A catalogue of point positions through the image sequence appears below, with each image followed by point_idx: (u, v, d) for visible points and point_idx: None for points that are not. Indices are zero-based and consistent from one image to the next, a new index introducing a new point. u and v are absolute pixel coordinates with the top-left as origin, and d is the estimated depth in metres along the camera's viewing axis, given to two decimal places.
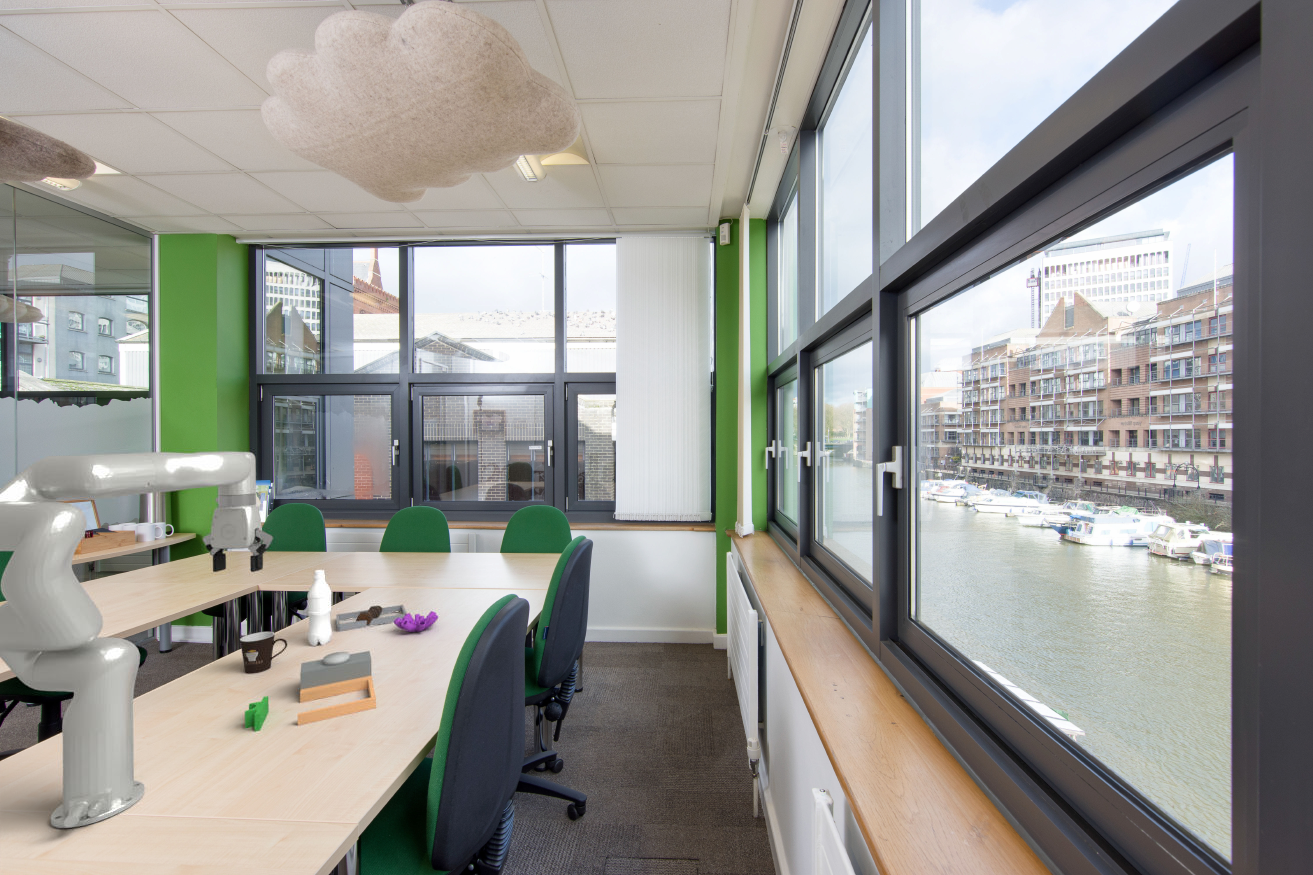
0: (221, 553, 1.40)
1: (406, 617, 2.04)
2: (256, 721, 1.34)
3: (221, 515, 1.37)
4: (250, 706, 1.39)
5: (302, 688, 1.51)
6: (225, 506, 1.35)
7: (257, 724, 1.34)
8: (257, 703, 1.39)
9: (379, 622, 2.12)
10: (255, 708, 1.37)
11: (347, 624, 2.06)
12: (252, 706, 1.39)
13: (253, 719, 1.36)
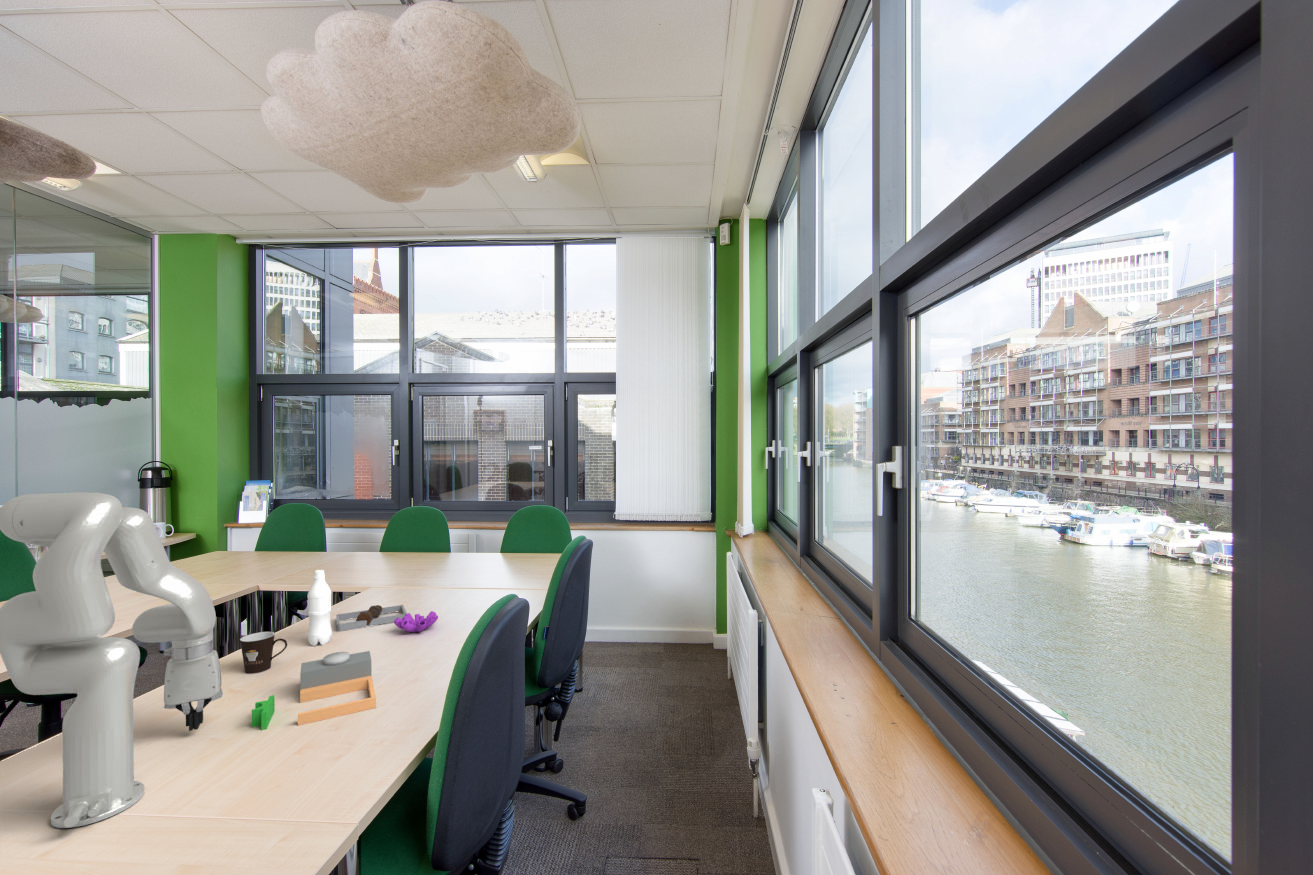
0: (193, 709, 1.33)
1: (406, 617, 2.04)
2: (263, 720, 1.34)
3: (181, 668, 1.29)
4: (256, 705, 1.39)
5: (302, 688, 1.51)
6: (190, 658, 1.29)
7: (263, 723, 1.34)
8: (263, 702, 1.40)
9: (379, 622, 2.12)
10: (262, 707, 1.37)
11: (347, 624, 2.06)
12: (258, 705, 1.40)
13: (260, 718, 1.36)
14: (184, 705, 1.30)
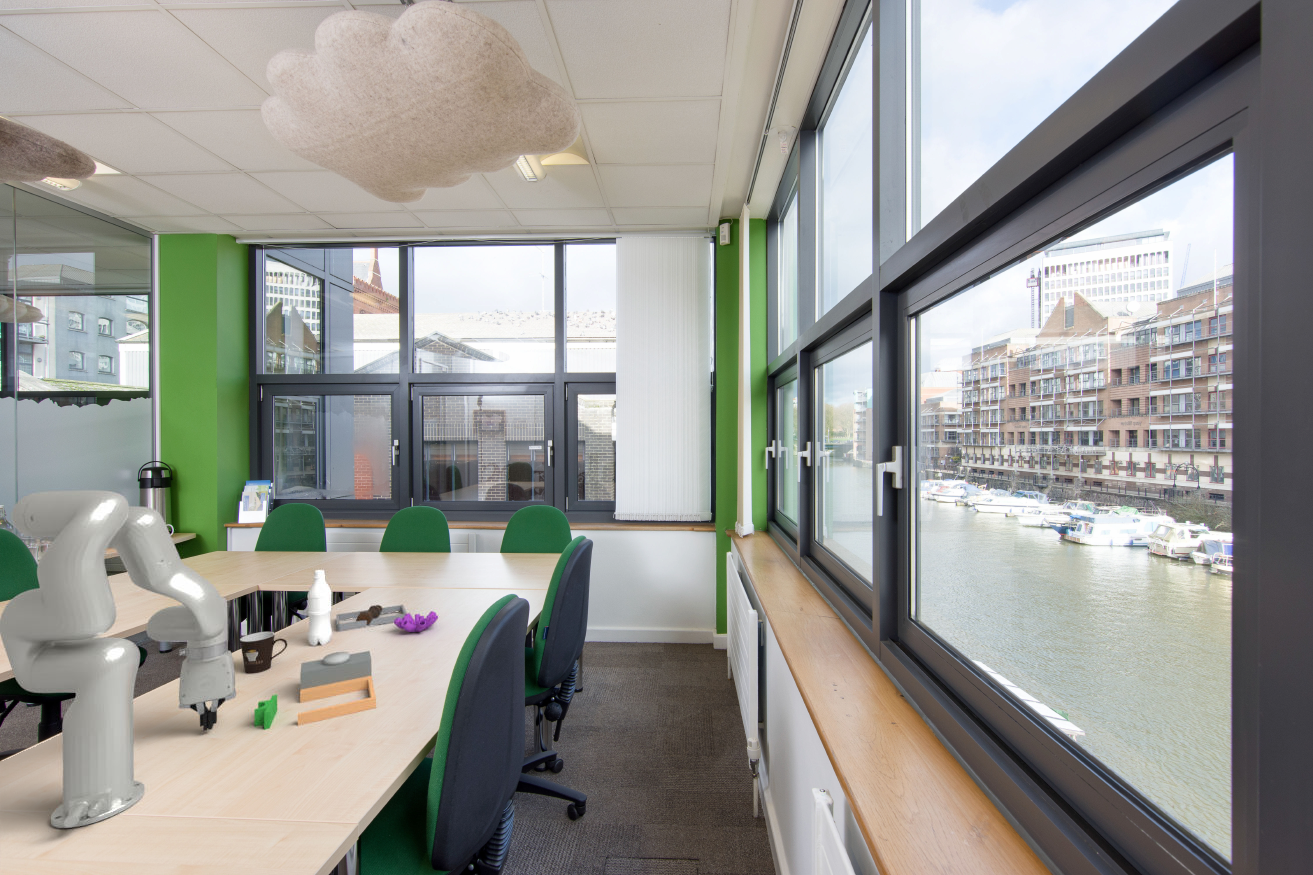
0: (207, 709, 1.34)
1: (406, 617, 2.04)
2: (266, 719, 1.35)
3: (196, 668, 1.30)
4: (259, 704, 1.40)
5: (302, 688, 1.51)
6: (205, 658, 1.30)
7: (266, 722, 1.35)
8: (266, 701, 1.40)
9: (379, 622, 2.12)
10: (264, 706, 1.38)
11: (347, 624, 2.06)
12: (261, 704, 1.40)
13: (262, 717, 1.37)
14: (199, 705, 1.32)
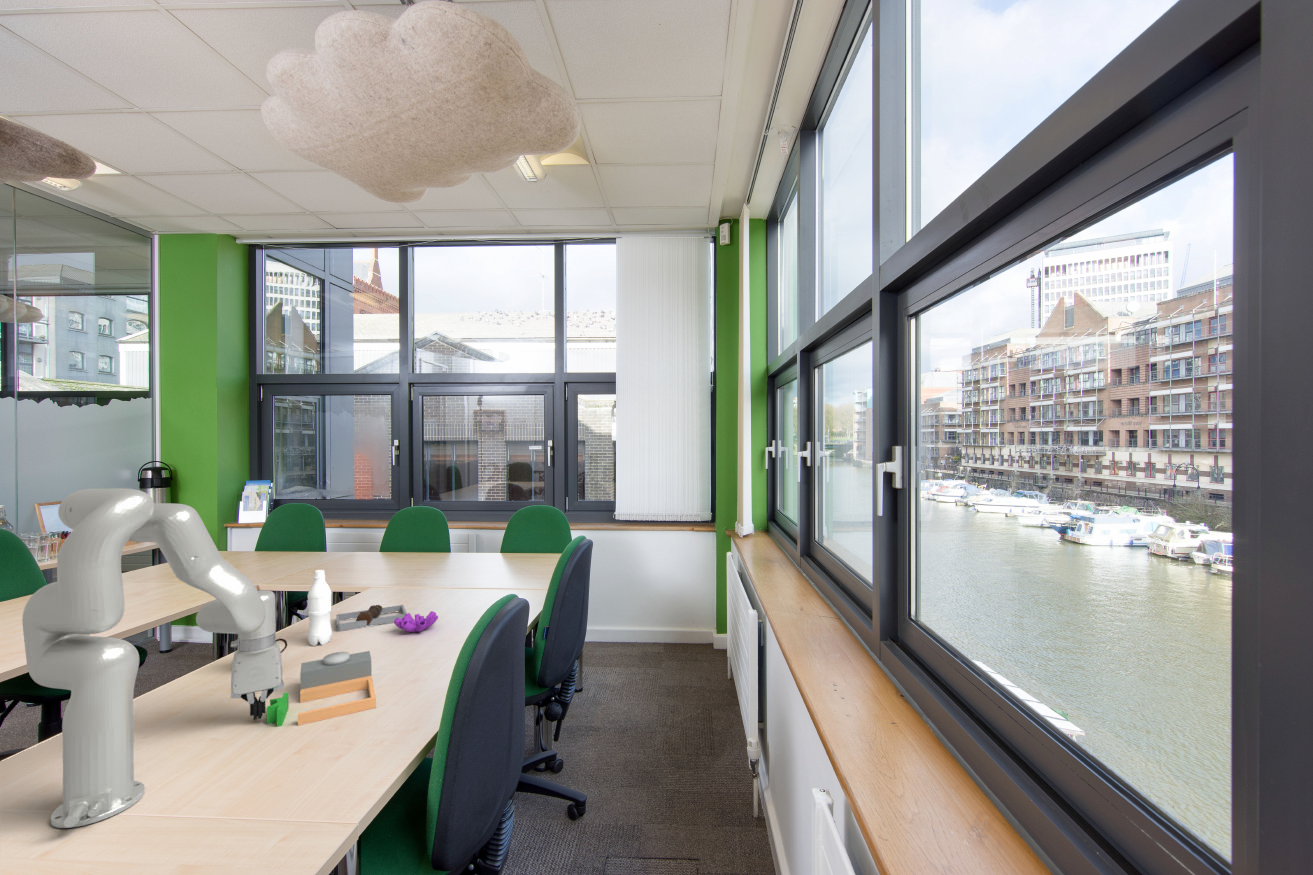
0: (256, 699, 1.39)
1: (406, 617, 2.04)
2: (278, 716, 1.36)
3: (247, 659, 1.35)
4: (271, 702, 1.41)
5: (302, 688, 1.51)
6: (256, 649, 1.35)
7: (279, 719, 1.36)
8: (278, 699, 1.41)
9: (379, 622, 2.12)
10: (277, 704, 1.39)
11: (347, 624, 2.06)
12: (273, 702, 1.41)
13: (275, 714, 1.38)
14: (249, 695, 1.36)
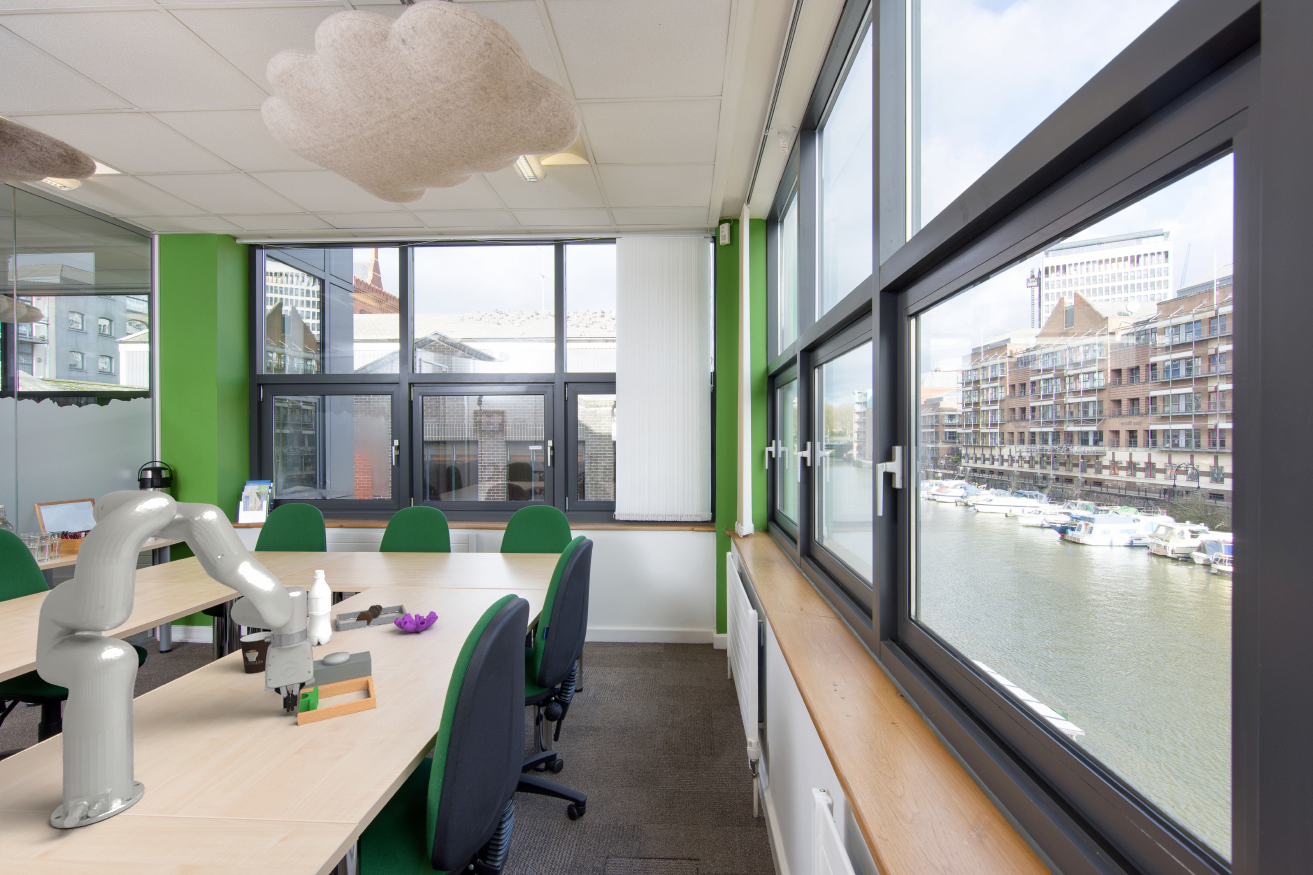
0: (289, 693, 1.42)
1: (406, 617, 2.04)
2: None
3: (280, 654, 1.39)
4: (302, 696, 1.44)
5: (302, 688, 1.51)
6: (289, 644, 1.39)
7: None
8: (309, 693, 1.45)
9: (379, 622, 2.12)
10: (308, 697, 1.42)
11: (347, 624, 2.06)
12: (304, 696, 1.44)
13: (307, 708, 1.41)
14: (282, 688, 1.40)
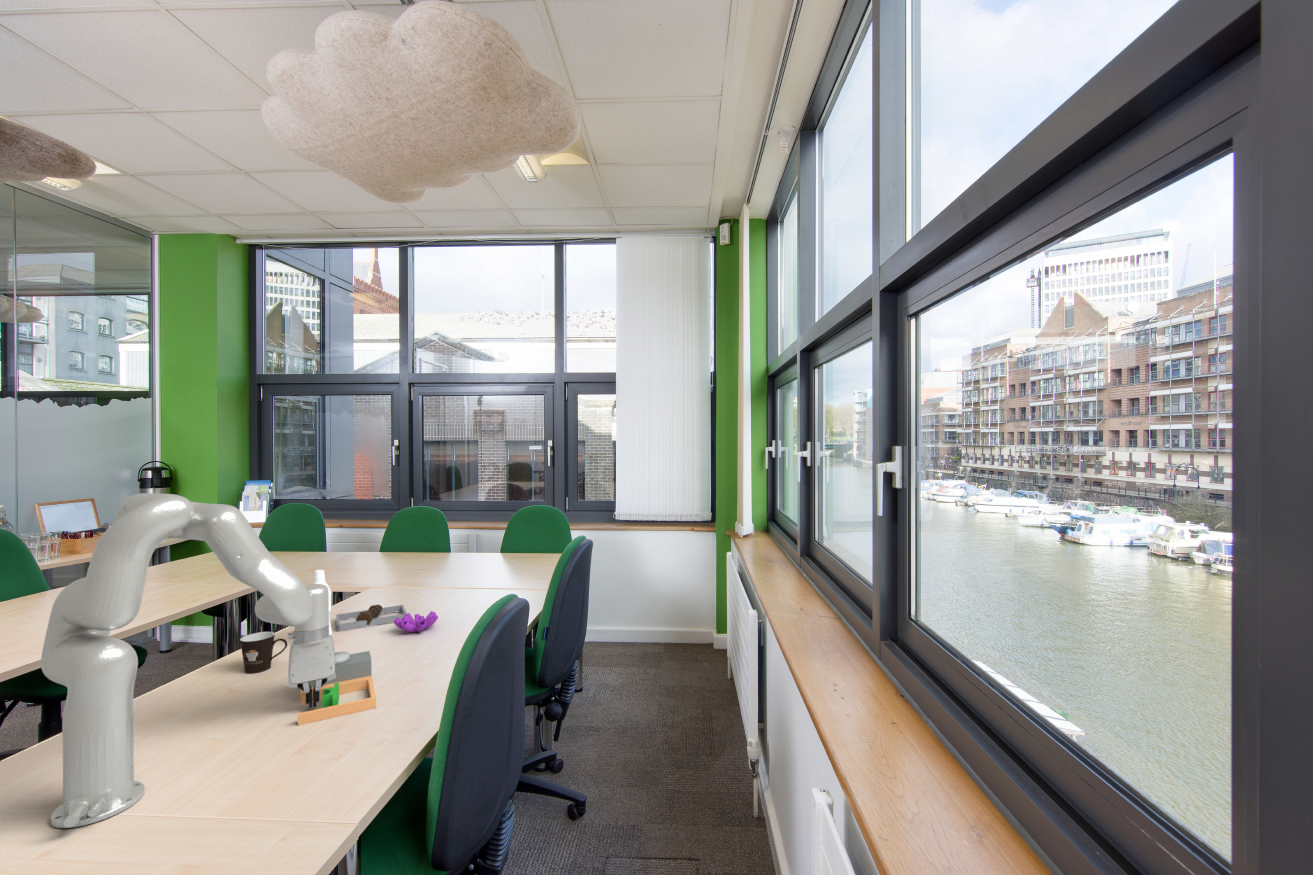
0: None
1: (406, 617, 2.04)
2: None
3: (303, 650, 1.41)
4: (324, 692, 1.47)
5: None
6: (312, 641, 1.41)
7: None
8: (331, 689, 1.47)
9: (379, 622, 2.12)
10: (330, 693, 1.44)
11: (347, 624, 2.06)
12: (326, 691, 1.47)
13: (329, 703, 1.43)
14: (305, 684, 1.42)
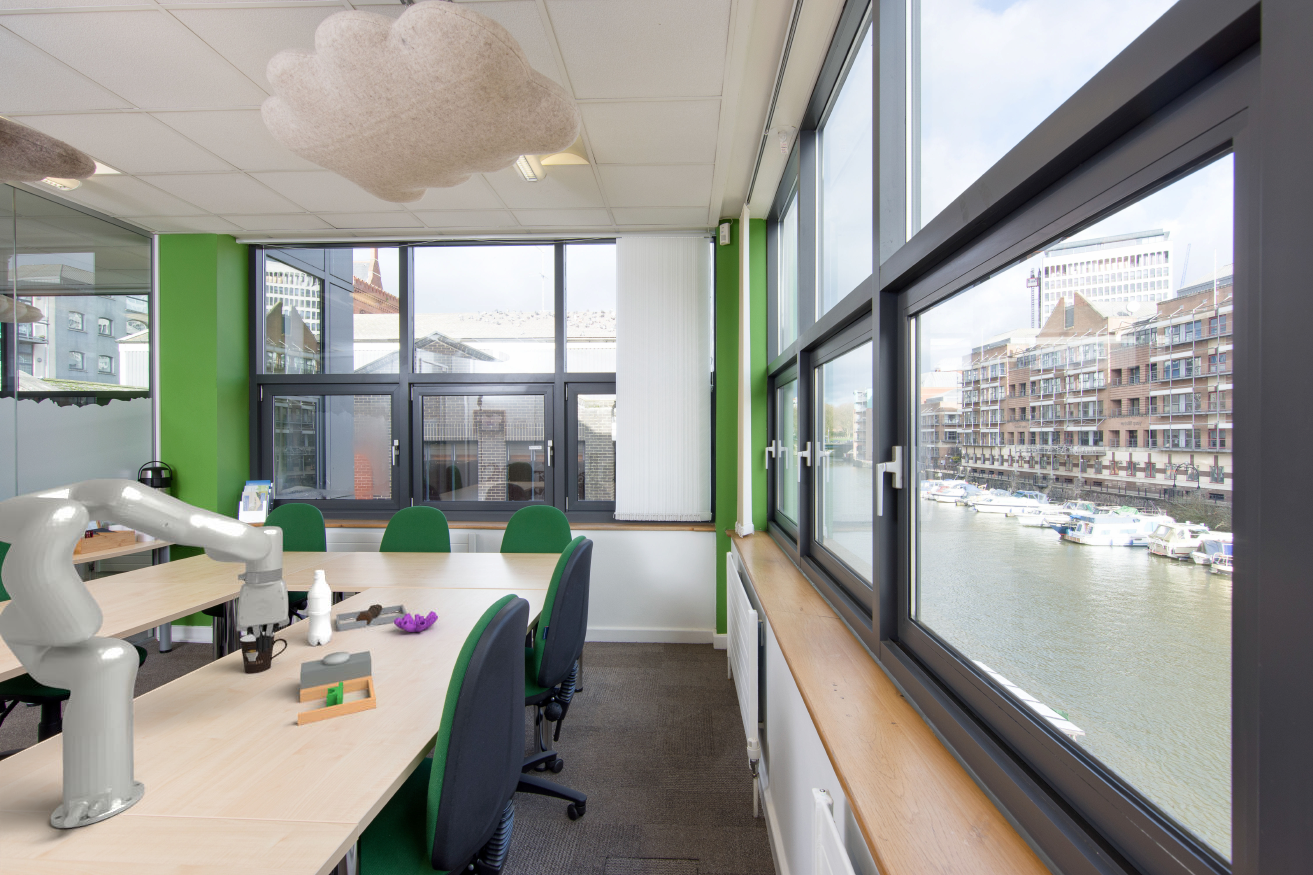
0: (262, 634, 1.39)
1: (406, 617, 2.04)
2: (338, 704, 1.42)
3: (254, 592, 1.36)
4: (329, 691, 1.47)
5: (302, 688, 1.51)
6: (263, 582, 1.36)
7: None
8: (335, 688, 1.48)
9: (379, 622, 2.12)
10: (335, 692, 1.45)
11: (347, 624, 2.06)
12: (331, 691, 1.47)
13: (334, 702, 1.44)
14: (255, 628, 1.37)
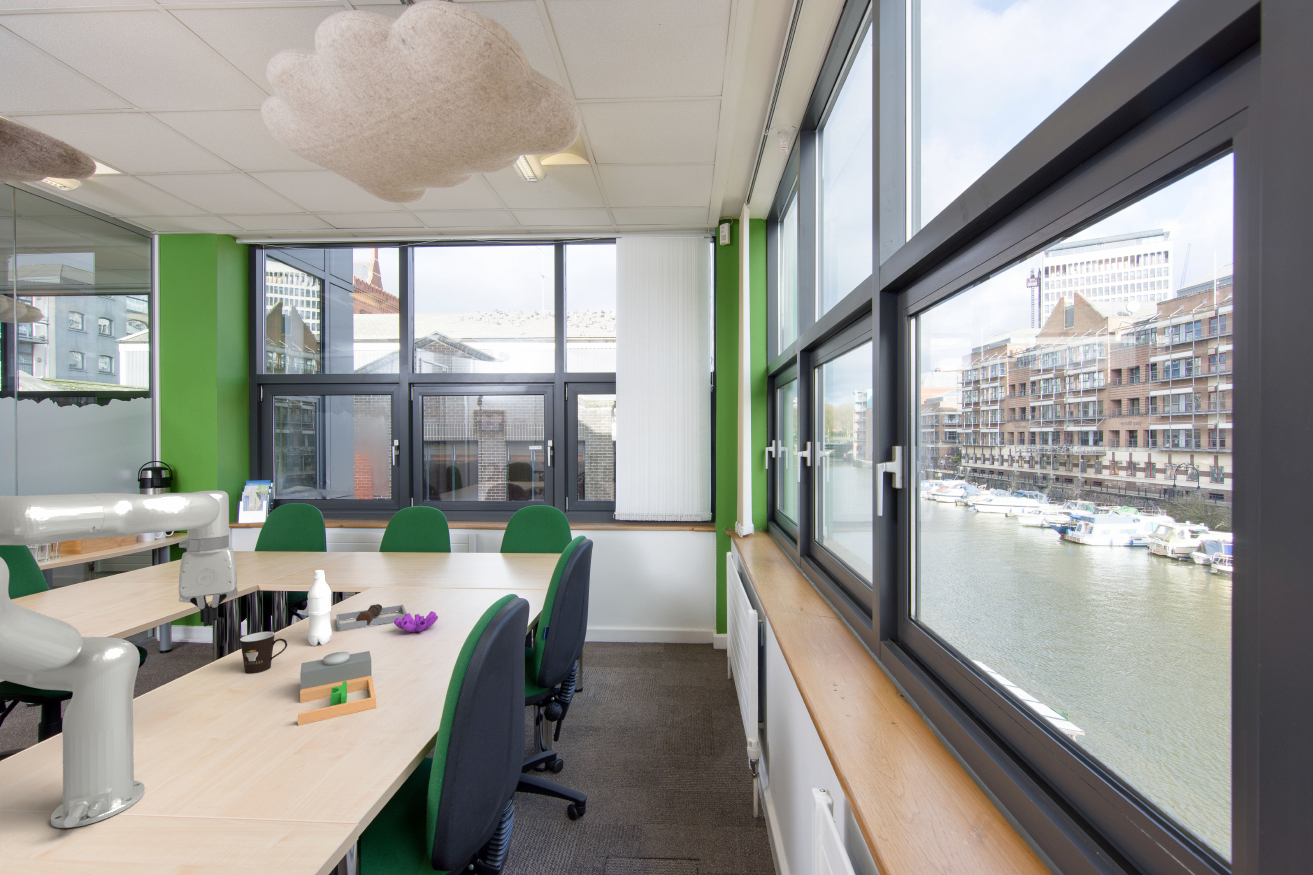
0: (207, 605, 1.29)
1: (406, 617, 2.04)
2: (342, 703, 1.42)
3: (196, 560, 1.26)
4: (332, 690, 1.47)
5: (302, 688, 1.51)
6: (206, 550, 1.26)
7: None
8: (339, 687, 1.48)
9: (379, 622, 2.12)
10: (339, 691, 1.45)
11: (347, 624, 2.06)
12: (334, 690, 1.48)
13: (338, 701, 1.44)
14: (199, 599, 1.27)
